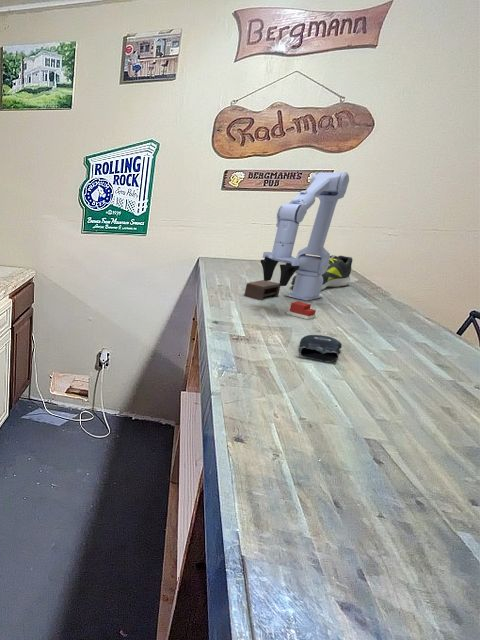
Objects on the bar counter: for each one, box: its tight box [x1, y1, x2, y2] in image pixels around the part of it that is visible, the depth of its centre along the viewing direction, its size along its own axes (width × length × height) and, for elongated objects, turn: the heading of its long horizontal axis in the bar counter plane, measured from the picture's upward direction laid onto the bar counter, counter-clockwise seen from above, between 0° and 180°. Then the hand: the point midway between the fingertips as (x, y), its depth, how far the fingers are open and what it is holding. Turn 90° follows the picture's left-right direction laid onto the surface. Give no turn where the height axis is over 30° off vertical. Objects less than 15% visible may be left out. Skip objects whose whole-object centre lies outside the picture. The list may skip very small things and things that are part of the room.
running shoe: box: [290, 254, 353, 291], centre depth 185 cm, size 11×30×12 cm, turn 115°
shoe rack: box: [244, 279, 281, 301], centre depth 174 cm, size 10×7×5 cm
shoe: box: [286, 300, 317, 320], centre depth 151 cm, size 7×4×4 cm, turn 27°
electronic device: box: [297, 334, 343, 363], centre depth 123 cm, size 9×6×15 cm
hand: (274, 283), depth 154 cm, fingers open, 7 cm apart
